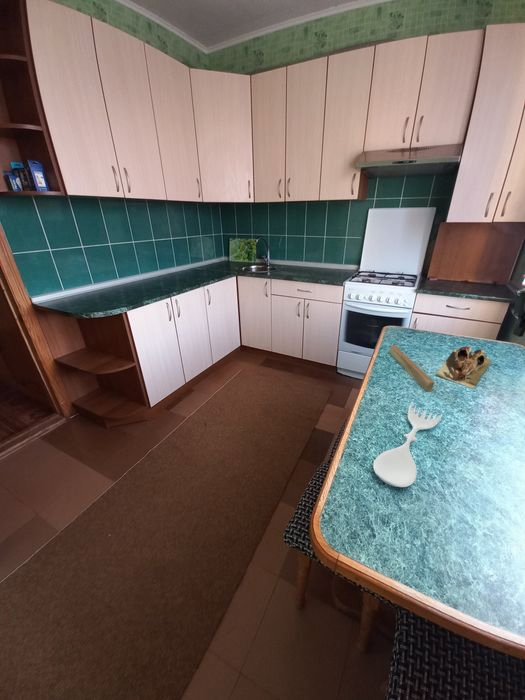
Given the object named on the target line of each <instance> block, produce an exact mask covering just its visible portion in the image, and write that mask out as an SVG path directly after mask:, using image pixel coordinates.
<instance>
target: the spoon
mask: <svg viewBox="0 0 525 700" xmlns="http://www.w3.org/2000/svg"><path fill="white" fill-rule="evenodd" d="M416 410H417V405H415V406H414V407H413V402H410V404H409V406H408V410H407V420H408V421H409V423H410V425H411V426H412V429H411V430H410V432H409V433H405V434H403V437H404V438H405V439H406V441H405V442H404V443H403V444H402V445H400V446H397V447H395V448H391V449H387V450H385V451H383V452H381V453H379V454H378V456H376V458H375V459H374V461H373V463H372V464H373V465H372V467H373V471H374V473H375V474H376V476H377V477H378V478H379V479H380V480H381V481H382V482H384V483H385V484H387V485H389V486H392V487H395V488H406V487H409V486H411V485H413V484H414V483H415V482H416V478H417V474H418V470H417V465H416V462H415V460H414V457H413V456H412V452H411V450H410V445H411V442H413V443H415V442H417V441H418V438H417V437H416V434H417V433H418V431H423V430H424V431H425V430H430V429H432V428H434V427H435V426H436V425H437V424H438V423H439V422H440V421H441V420H442V418H443V413H441V414H440V415H439V416H438V417H437V415H438V413H435V414H434V415H433V412H430V414H429V415H428V417H427V411H426V410H424V411H423V412H422V413H421V415H420V411H421V407H419V408H418V410H417V411H416ZM432 416H433V417H432ZM426 417H427V418H426Z"/></svg>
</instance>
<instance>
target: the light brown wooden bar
mask: <svg viewBox="0 0 525 700" xmlns="http://www.w3.org/2000/svg"><path fill="white" fill-rule="evenodd" d="M389 354H390V356H392V357H393V358H394V359H395V361H396V362H397V363H398V364H399V365H400V366H401V367H402V368H403V369H404V370H405V371H406V372H407V373H408V375H410V376H411V377H412V379H414V381H415V382H416V383H417V384H419V386H420V387H421V388H422V389H423V390H424V391H425V392H432V391H433V389H434V385H435V381H434V380H432V378H430V377H429V375H428V374H427V373H425V372H424V371H423V370H422V368H420V367H419V365H417V364H416V363H415V362H414V361H413V360H412V359H411V358H410V357H409V356H407V354H405V352H404V351H403V350H402V349H400V348H399V347H398V346H397V344H391V345H390V347H389Z"/></svg>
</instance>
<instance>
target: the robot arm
mask: <svg viewBox="0 0 525 700" xmlns="http://www.w3.org/2000/svg"><path fill="white" fill-rule="evenodd" d="M514 293H515V301H514V308H513V313H512V315H513V316H514V317H517V319H516V321H515V324H514V326H515V327H514V329H513V331H512V335H514V336H516V337H519V338H523V337H524V335H525V285H524V286H523V288H521V289H516V290H515V292H514Z"/></svg>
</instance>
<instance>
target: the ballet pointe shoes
mask: <svg viewBox="0 0 525 700" xmlns="http://www.w3.org/2000/svg"><path fill="white" fill-rule="evenodd" d="M492 361H493V359H492V358H487V356H486V353H485V351H484V350H483V349H481V348H480V349H476V350H474V351H473V350H472V348H471V347H470V346H461V347H459V348H458V349H453V351H452V352H451V353H450V354H449V356H448V357H447V359H446V360H445V362H443V364H442V365H441V367H440V368H439V369H438V370H437V372H436V373H435V376H436V377H438V378H442V379H445V380H448V381H451V382H453V383H457V384H460V385H462V386H465V387H468V388H470V389H475V388H476V387H477V385H478V384H479V382H480V380H481V378H482V377H483V376H484V374H485V372H486V371H487V369H488V368H489V366H490V364H491V362H492Z"/></svg>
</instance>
